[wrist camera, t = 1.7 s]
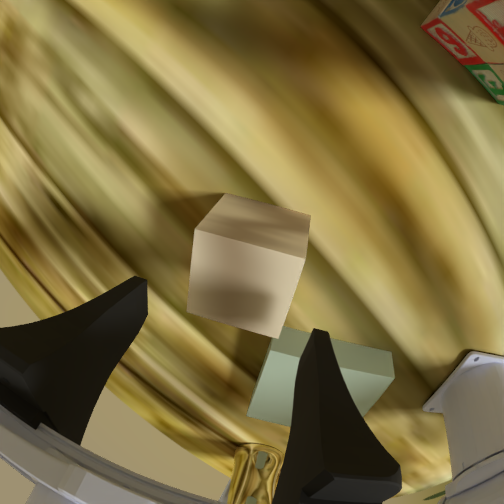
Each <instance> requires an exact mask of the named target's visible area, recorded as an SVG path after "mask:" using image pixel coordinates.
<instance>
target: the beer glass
mask: <svg viewBox="0 0 504 504" xmlns="http://www.w3.org/2000/svg"><path fill="white" fill-rule="evenodd" d="M284 457H285V456H284V454H283V453H282V452H281V451H279V450H277V449H275V448H273V447H270V446H267V445H262V444H253V443H249V444H242V445H239V446H238V447H236V449H235V455H234V467H233V471H232V475H231V477H230V480H229V482H228V484H227V486H226V488H225V490H224V492H223V493H222V495H221V497H220V499H219V502H223V503H227V504H271V503H272V500H273V497H274V494H275V490H276V481H277V477H278V474H279V471H280V469H281V467H282V464H283V461H284Z"/></svg>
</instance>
